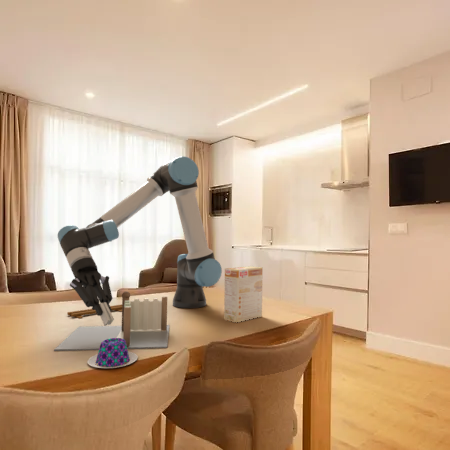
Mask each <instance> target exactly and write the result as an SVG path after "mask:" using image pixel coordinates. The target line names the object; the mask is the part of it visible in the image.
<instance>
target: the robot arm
mask: <svg viewBox="0 0 450 450" xmlns="http://www.w3.org/2000/svg"><path fill="white" fill-rule="evenodd" d="M199 172H200V171H199V167H198V165H197V164H196V162H195V161H194V160H193V159H192V158H190V157H188V156H184V155H183V156H181V155H180V156H176V157H174V158H172V159H171V160H168V161H166V162H164V163H163V164H162V165H161V166H159V168H158V169H156V171H154V172H153V174H151V175H150V176H148V177H147V179H146V182H144V183H143V184H142V185H141V186H140V187H137V189H135V190H134V191H133V192H132V193H130V194H129V195H128V196H126V197H125V198H124V199H122V200H121V201H119V202H118V203H117V204H116V205H115V206H113V207H112V208H110V209H109V210H108V211H106V213H104V214H102V216H100V217H99V218H97V219H96V220H95V221H94V222H92V223H90V224H88V225H87V226H86V227H83V228H79V227H77V226H76V225H65V226H63V227H61V228H60V229H59V231H58V233H57V239H58V241H59V245H60V247H61V249H62V252H63V254H64V256H65V258H66V261H67V263H68V266H69V268H70V270H71V273H72V274H73V276H74V278H73V279H72V280H71V282H70V284H69V286H70V288H72V289H73V290H74V291H75V293H76V294H77V295H78V296H79V297H80V300H81V301H82V302H83V304H84V305H85V306H86V308H90V307H91V309H93V310H95V311H96V313H95V314H96V315H97V316H98V317H100V319H101V321H102V323H103V326H111V324H112V323H113V322H114V320H115V318H114V316H113V314H112V310H111V307H110V306H111V305H110V303H111V301H112V300H113V295H112V290H111V287H110V277H109V275H106V276H103V275H102V274H101V273H100V272H99V271H98V266H97V264H96V261H95V259H94V258H93V256H92V254H91V252H90V249H91V248H94V247H98V246H100V245H103V244H106V243H108V242H112V241H114V240H117V239H118V238H119V236H120V233H119V229H118V228H119V227H120V226H122V225H123V224H125V222H127V221H128V220H129V219H131V218H132V217H133V216H134V215H136V214H137V213H138V212H140V211H141V210H142V209H143V208H145V207H146V206H147V205H148V204H150V203H152V202H153V200H155V199H156V198H157V197H163V195H164V194H166V193H168V192H169V193H170V195H171V196H173V197H174V199H175V203H176V207H177V211H178V215H179V219H180V223H181V228H182V231H183V236H184V240H185V243H186V248H187V251H188V252H187V253H182V254H179V255H178V256H177V261H176V264H177V265H176V266H177V269H176V278H177V279H176V289H175V292H174V296H173V298H172V306H173V307H175V308H180V309H181V308H182V309H196V308H203V307H205V306H206V305H207V299H206V296H205V292H204V287H208V288H209V287H212V286H215V285H216V284H217V283H218V282H219V281H220V279H221V277H222V272H223V270H222V266H221V263H220V262H219V261H218V260H216V259H215V254H214V250H212V249H210V248H209V246H208V240H207V237H206V232H205V227H204V223H203V219H202V215H201V211H200V210H201V209H200V207H199V203H198V198H197V194H196V192H197V190H198V188H199V187H198V182H197V179H198V178H199V175H200V173H199Z"/></svg>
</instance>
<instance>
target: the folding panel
mask: <svg viewBox="0 0 450 450" xmlns="http://www.w3.org/2000/svg"><path fill="white" fill-rule="evenodd" d="M130 301H131V300H130V299H129V300H128V301H125V302H124V336H123V339H124V340H125V341H126V345H127V346H129V345H130V324H131V306H130Z"/></svg>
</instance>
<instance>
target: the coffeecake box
mask: <svg viewBox="0 0 450 450" xmlns="http://www.w3.org/2000/svg"><path fill="white" fill-rule="evenodd" d="M223 313H224V317H223V319H225V321H227V320H229V321H228V322H231V321H232V322H231V323H235V322H236V323H237V322H238V323H242V322H246V321H249V319H250V320H254V319H257V317H258V318H261V316H262V317H263V267H259V266H253V265H252V266H251V265H250V266H239V267H228V268H224V309H223ZM253 318H254V319H253ZM245 320H246V321H245ZM241 321H242V322H241ZM238 323H237V324H238Z"/></svg>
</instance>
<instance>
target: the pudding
mask: <svg viewBox="0 0 450 450" xmlns="http://www.w3.org/2000/svg"><path fill="white" fill-rule="evenodd" d="M138 357H139V356H138V355H137V354H136V353H135V352H132V351H129V349H127V345H126V341H125V340H124V339H121V338H110V339H106V340H104V341H103V342H102V343H101V345H100V348H99V350H98V352H97V354H95V355H93V356H91V357H90V358H88V359H87V364H88V365H89V366H91V367H92V368H99V369H116V368H122V367H125V366H128V365H131V364H133V363H134V362H136V361H137V360H138ZM95 361H96V362H95ZM97 363H98V364H97ZM95 364H96V365H95ZM97 365H98V366H97Z"/></svg>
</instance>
